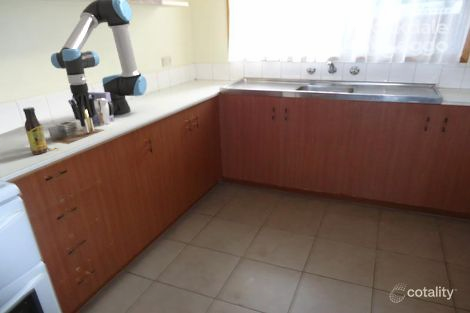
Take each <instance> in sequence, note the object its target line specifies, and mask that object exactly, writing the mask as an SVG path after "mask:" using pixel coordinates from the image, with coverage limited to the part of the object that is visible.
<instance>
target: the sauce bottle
mask: <svg viewBox="0 0 470 313" xmlns="http://www.w3.org/2000/svg"><path fill="white" fill-rule="evenodd" d="M22 111H23V113H24V116H25V122H24V128H25V133H26V136H27V139H28V144H29V148H30V150H31V154H33V155H41V154H45V153H47V152H48V150H49V149H48V144H47V141H46V140H47V139H46V138H45V134H44V130H43V125H42V124H41V122H40V121H39V120H38V118H37V115H36V112H35V111H36V110H35V108H34V107H32V106H30V107H29V106H28V107H24V108H22Z"/></svg>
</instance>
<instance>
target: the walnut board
mask: <svg viewBox="0 0 470 313" xmlns="http://www.w3.org/2000/svg"><path fill="white" fill-rule="evenodd" d="M103 131H105V129H102V128H100V129H99V128H94V131H92V132H93V133H92V134H87V133H85V132H84V130H80V131H78V133H79V134H76V135H73V136H71V137H68V138H67V137H61V138H58V139H55V140H51V138H48V139H45V140H46V142H50V143H51V142H52V143H59V144H66V145H69V144H72V143H74V142H77V141H79V140H80V141H81V140H82V139H85V138H87V137H88V138H89V137H91V136H93V135H96V134H98V133H100V132H103Z"/></svg>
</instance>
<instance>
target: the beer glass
mask: <svg viewBox="0 0 470 313" xmlns="http://www.w3.org/2000/svg"><path fill="white" fill-rule="evenodd" d="M94 106H95V110H96V113H97V115H98V118H99V121H100V122H99V125H100V126H109V125H111V124H112V122H110V118H109V105H108V101H107V98H98V99H94Z"/></svg>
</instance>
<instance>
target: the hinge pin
mask: <svg viewBox="0 0 470 313" xmlns="http://www.w3.org/2000/svg"><path fill="white" fill-rule="evenodd" d="M83 111H84V119H85V120H86V121H87V125H88V130H89V133H87V134H92V133H93V132H92V128H91V123H90V119H89V115H88V110H87V109H83Z"/></svg>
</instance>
